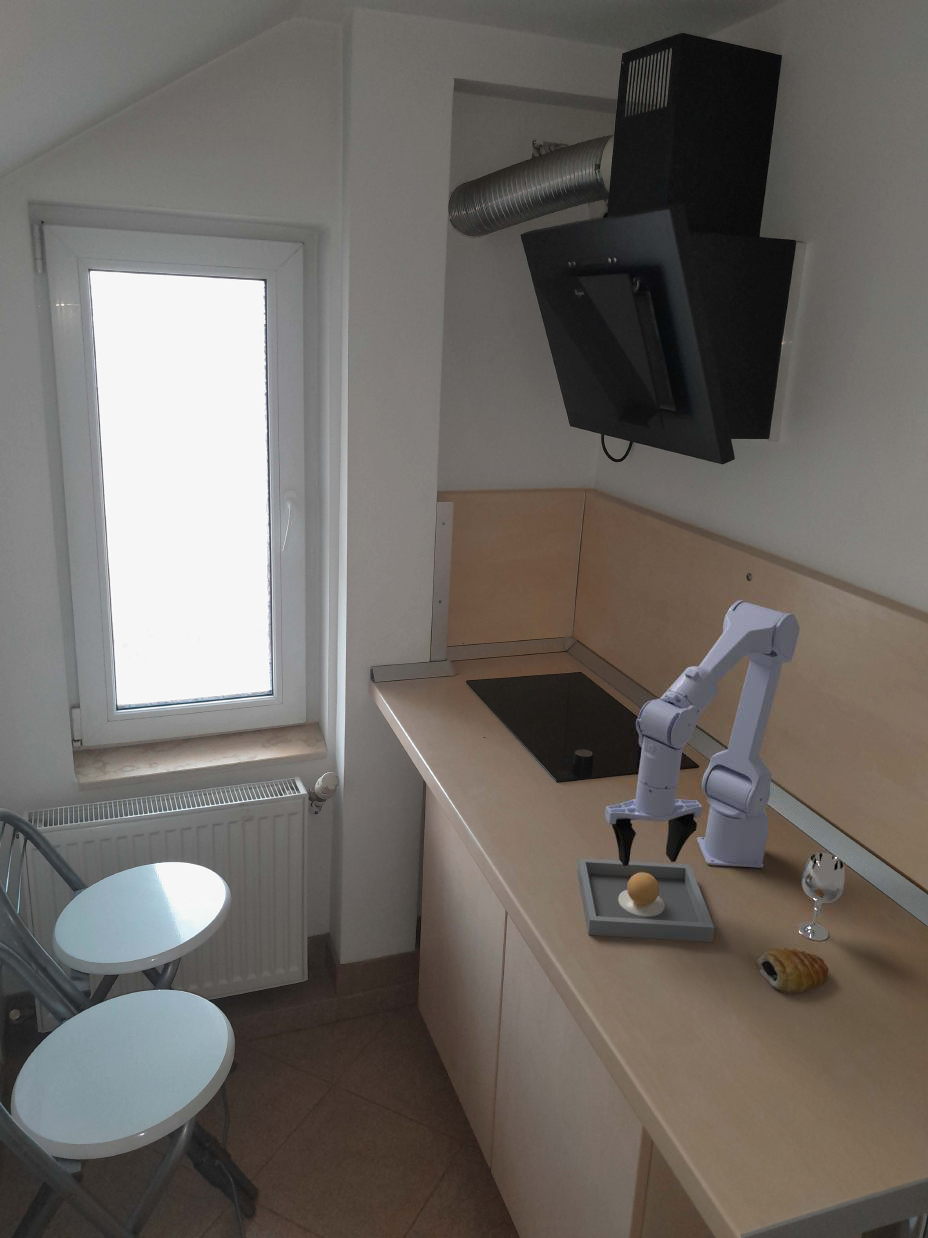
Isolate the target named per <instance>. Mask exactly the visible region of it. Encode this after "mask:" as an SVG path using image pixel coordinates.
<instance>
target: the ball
mask: <svg viewBox="0 0 928 1238" xmlns="http://www.w3.org/2000/svg"><path fill="white" fill-rule="evenodd" d="M627 891H628V894H629V896H630V898H631V899H632V900H633V901H634V902H635V903H637V904H640V905H649V904H651V903H653V902H654V901H655V900H656V899H657V897H658V894H659V885H658V882H657V880H656V879H655V878H654V877H653V876H652V875H650V874H648V873H644V872H640V873H637V874H635V875H633V876H632V877H631V878H630V880H629V882H628V885H627Z"/></svg>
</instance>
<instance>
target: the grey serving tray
mask: <svg viewBox="0 0 928 1238" xmlns="http://www.w3.org/2000/svg"><path fill="white" fill-rule="evenodd" d="M576 871H577V878H578V879H577V880H578V883H579V890H580V895H581V901H582V906H583V913H584V917H585V923H586V929H587V936H601V937H602V936H603V937H604V936H605V937H606V936H607V937H621V938H639V939H655V940H671V941H686V942H687V941H688V942H704V943H705V942H708V943H712V942H713V938H714V933H715V929H716V928H715V925H714V922H713V920H712V918H711V917H712V916H711V915H710V912H709V910H708V907H707V903H706V901H705V899H704V897H703V894H702V892H701V889H700V887H699V884H698V881H697V879H696V877H695V873H694V872H693V869H692V866H691V864H683V863H682V864H681V863H668V862H667V863H664V862H663V863H662V862H650V861H649V862H647V861H633V860H632V861H631V860H630V861H629V865H628V866H623V864H622V863H621V861H620V860H618V859H617V860H616V859H615V860H613V859H612V860H611V859H601V858H600V859H597V858H581V857H579V858H578V861H577V869H576ZM640 872H644V873H648V874H650V875H652V876H653V877H654V878H655V879H656V880H657V882H658V885H659V894H658V897H657V899H656V900H655V901H654V902H653V903H651V904H649V905H640V904H637V903H635V902H634V901H633V900H632V899H631V898H630V896H629V894H628V891H627V885H628V882H629V880H630V878H631V877H632V876H633V875H635V874H637V873H640Z"/></svg>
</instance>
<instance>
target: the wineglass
mask: <svg viewBox="0 0 928 1238" xmlns="http://www.w3.org/2000/svg"><path fill="white" fill-rule="evenodd" d="M845 877H846V875H845V864H844V862H843V861H842V859H840V857H839V858H838V857H837V856H835V855H833V854H831V853H830V854H829V853H826V852H815V853H812V854H811V855H810V857H809V858H808V860H807V862H806V863H805V866H804V868H803V870H802V875H801V887H802V889H803V892H804V893H805V895H806V896H807V897H809V898H810V899H812V900H814V901H815V902H814V904H813V905H814V906H813V907H814V914H813V920H812V921H810V920H809V921H807V920H806V921H805V920H804V921H801V922H799V923H797V927H796V929H797V931H798V933H799V934H800V935H801V936H803V937H805V939H810V940H812V941H816V942H817V941H819V942H821V941H826V940H827V939H828V938H829V932H828V929H826V928H825V927H824V926H823V925H820V923H817V920H818V915H819V912H820V911H821V909H822V905H823V904H830V903H834V902H835V901H837V900H838V899H840V897H841V895H842V893H843V892H844V888H845V881H846V879H845ZM822 903H823V904H822Z"/></svg>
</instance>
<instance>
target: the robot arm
mask: <svg viewBox="0 0 928 1238" xmlns="http://www.w3.org/2000/svg"><path fill="white" fill-rule="evenodd" d="M722 624H723V625H722V634H721V635H720V636H719V638H718V639H717V640H716V641H715V643H714V644H713V646H712V647H711V649H710V650H709V651H708V653H707V654H706V655H705V657H704V659H703V660H702V661H701V663H700V664H699V665H698V666H696V665H695V666H689V667H686V668H685V670H684V671H683V672H682V673H681V674H680V676H679V677H678V678H677V679H676V680H675V681H674V682H673V683H672V684H671V686H670V687H669V688H667V689H666V691H665V692H664V693H663V694H662V696H660V697H659V698H655V699H651V700H649V701H647V702H645V703H644V704H643V706H642V707H641V709H640V711H639V713H638V717H637V718H636V721H635V728H636V731H637V733H638V744H639V747H641V751H640V752H641V753H640V759H639V768H638V775H637V783H636V793H635V798H633V799H631V800H630V799H629V800H628V801H624V802H621V803H618V804H613V805H606V806H605V813H604V818H605V821H607V823H608V824H609V825H611V827H612V829H613V832H614V833H613V834H614V835H615V840H616V844H617V849H618V861H621V863H622V864H623V866H628V865H629V861H631V850H632V846H633V842H634V839H635V836H636V835H637V832H636V831H635V829H634V828H633V823H631V821H639V820H641V821H648V822H668V828H667V829H668V830H667V840H666V846H665V847H666V848H665V854H666V857H667V858H668V859H669V861H670V862H671V863H676V861H677V860H678V856H679V854H680V852H681V851H682V848H683V846H684V845H685V843H686V842H687V840H688V839H689V838H690V837H691V836H692V834H693V833H695V831H697V827H698V823H697V821H696V820H695V819H701V817H702V812H703V811H702V810H703V806H702V804H701V803H700V802H699V801H698V800H696V799H694V800H692V799H690V800H689V799H680V798H676V797H677V791H678V785H679V777H680V776H679V775H680V769H681V762H682V754H683V750H684V749H683V747H684V746H685V745H687V743H689V741H691V738H692V736H693V734H694V731H695V729H696V726H697V725H698V724H699V723H698V722H699V716H700V715H701V714H702V712H703V711H704V710H705V709H706V708H707V706H708V705H710V704H711V702H712V701H713V699H714V698H715V697H716V696H717V695H718V694H719V691H720V690H719V689H720V688H719V684H718V682H719V681H720V680H721V679H722V678H723V677H724V676H726V674H727V673H728V672H729V671H731V669H733V668H734V667H735V666H736V665H737V663H739V662H740V661H741V660H742V659H743V658H744V657H745V656H746V655H747V657H748V659H749V663H748V667H747V672H746V673H745V674H746V675H745V679H744V682H743V686H742V691H741V695H740V698H739V701H738V702H739V703H738V707H737V710H736V714H735V719H734V723H733V725H732V726H733V727H732V730H731V734H730V738H729V741H728V747H727V749H724V750H722V751H719V752H717V753H714V754H713V755H712V756H711V758H710V762H709V764H708V765H707V768H706V770H705V771H704V774H703V775H702V781H701V789H702V793H703V795H704V796H706V797H707V798H706V803H707V804H709V810H708V817H707V822H706V829H705V836H704V837H703V836H698V837H696V840H697V844H698V845H699V848H700V851H701V853H702V856H703V858H704V860H705V863H706V864H707V865H709V866H710V865H712V866H727V867H742V868H744V867H747V868H760V869H761V868H764V866H765V865H764V863H763V862H764V861H763V860H764V858H765V857H764V856H765V850H766V845H767V839H768V834H769V820H768V815H767V811H766V810H765V809H766V807H767V805H768V803H769V800H770V798H771V781H772V774H773V773H772V772H771V770H770V769H769V767H768V766H767V765H766V763H765V762H764V761H763V759H762V758H761V756H760V753H761V749H762V746H763V745H762V744H763V741H764V738H765V733H766V730H767V726H768V722H769V718H770V714H771V710H772V706H773V703H774V699H775V697H776V692H777V691H776V690H777V689H778V684H779V679H780V676H781V672H782V669H783V664H786V663H788V664H789V663H791V662H792V659H793V657H794V654H795V650H796V645H797V643H798V640H799V636H800V635H799V634H800V630H801V629H800V628H801V626H800V624H799V621H798V619H797V617H796V615H795V614H792V613H790V612H788V613H786V612H783V611H782V612H781V611H778V610H775V609H772V608H768V607H765V606H761V605H758V604H754V603H750V602H748V601H746V600H743V599H738V600H737V601H735V602H734V603H733V604H732V605H731V606H730V607H729V609H728V610H727V613H726V614H725V616H724V620H723V623H722Z"/></svg>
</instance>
